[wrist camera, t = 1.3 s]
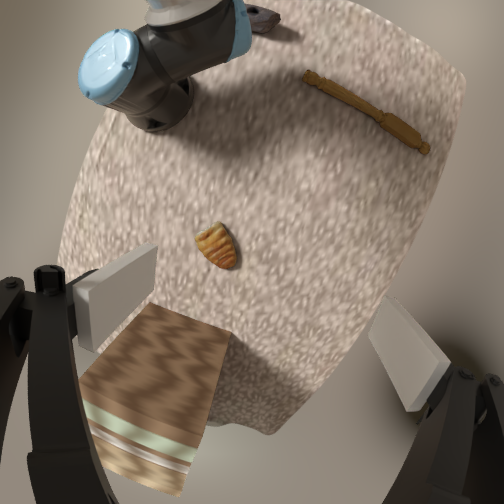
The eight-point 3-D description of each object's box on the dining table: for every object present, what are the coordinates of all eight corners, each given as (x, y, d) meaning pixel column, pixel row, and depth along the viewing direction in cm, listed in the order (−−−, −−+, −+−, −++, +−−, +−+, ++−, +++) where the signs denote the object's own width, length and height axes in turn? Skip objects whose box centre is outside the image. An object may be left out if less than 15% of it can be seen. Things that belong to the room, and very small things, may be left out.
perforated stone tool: (209, 23, 43) (202, 7, 36) (220, 8, 41) (214, -8, 35) (271, 41, 43) (271, 25, 37) (282, 25, 42) (282, 9, 35)
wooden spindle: (308, 66, 42) (434, 145, 43) (306, 72, 45) (427, 146, 46) (302, 77, 43) (429, 156, 44) (300, 83, 46) (422, 157, 47)
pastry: (245, 256, 55) (244, 262, 52) (219, 273, 57) (215, 279, 53) (219, 217, 54) (215, 220, 50) (193, 236, 55) (187, 240, 51)
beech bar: (43, 411, 35) (34, 422, 31) (39, 400, 34) (29, 411, 30) (183, 481, 36) (178, 497, 32) (186, 475, 35) (181, 491, 31)
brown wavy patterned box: (139, 373, 66) (88, 453, 35) (149, 302, 59) (73, 385, 29) (207, 398, 66) (179, 492, 36) (231, 332, 60) (200, 442, 29)
